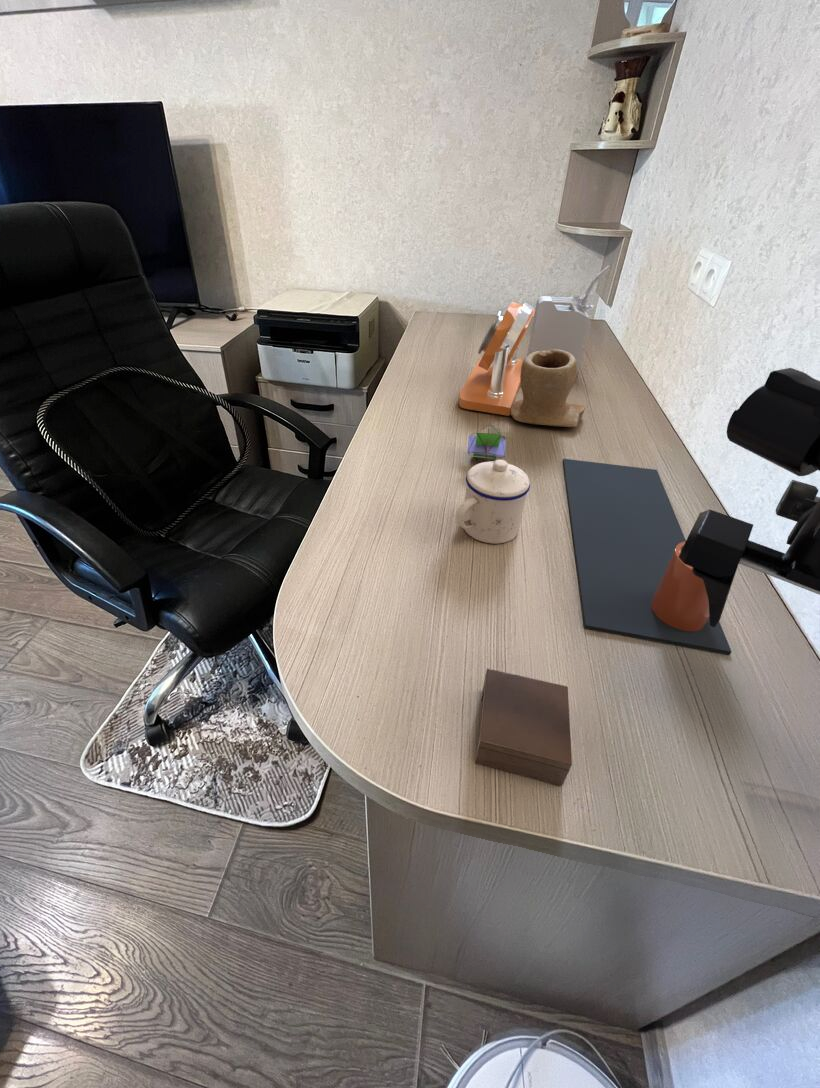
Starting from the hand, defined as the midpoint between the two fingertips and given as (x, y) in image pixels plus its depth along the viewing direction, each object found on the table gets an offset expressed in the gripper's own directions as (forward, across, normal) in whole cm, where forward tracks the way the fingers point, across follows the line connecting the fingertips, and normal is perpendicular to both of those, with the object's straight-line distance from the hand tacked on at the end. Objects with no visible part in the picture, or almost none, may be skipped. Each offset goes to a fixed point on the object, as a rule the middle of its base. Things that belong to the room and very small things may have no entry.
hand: (771, 650), depth 44 cm
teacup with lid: (+12, +34, -12) cm, 38 cm away
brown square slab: (+12, +15, +14) cm, 24 cm away
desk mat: (+12, +17, -25) cm, 32 cm away
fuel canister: (+12, +53, -83) cm, 99 cm away
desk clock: (+12, +59, -61) cm, 86 cm away
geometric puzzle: (+12, +44, -30) cm, 55 cm away
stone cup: (+12, +42, -52) cm, 68 cm away
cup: (+11, +7, -13) cm, 19 cm away
